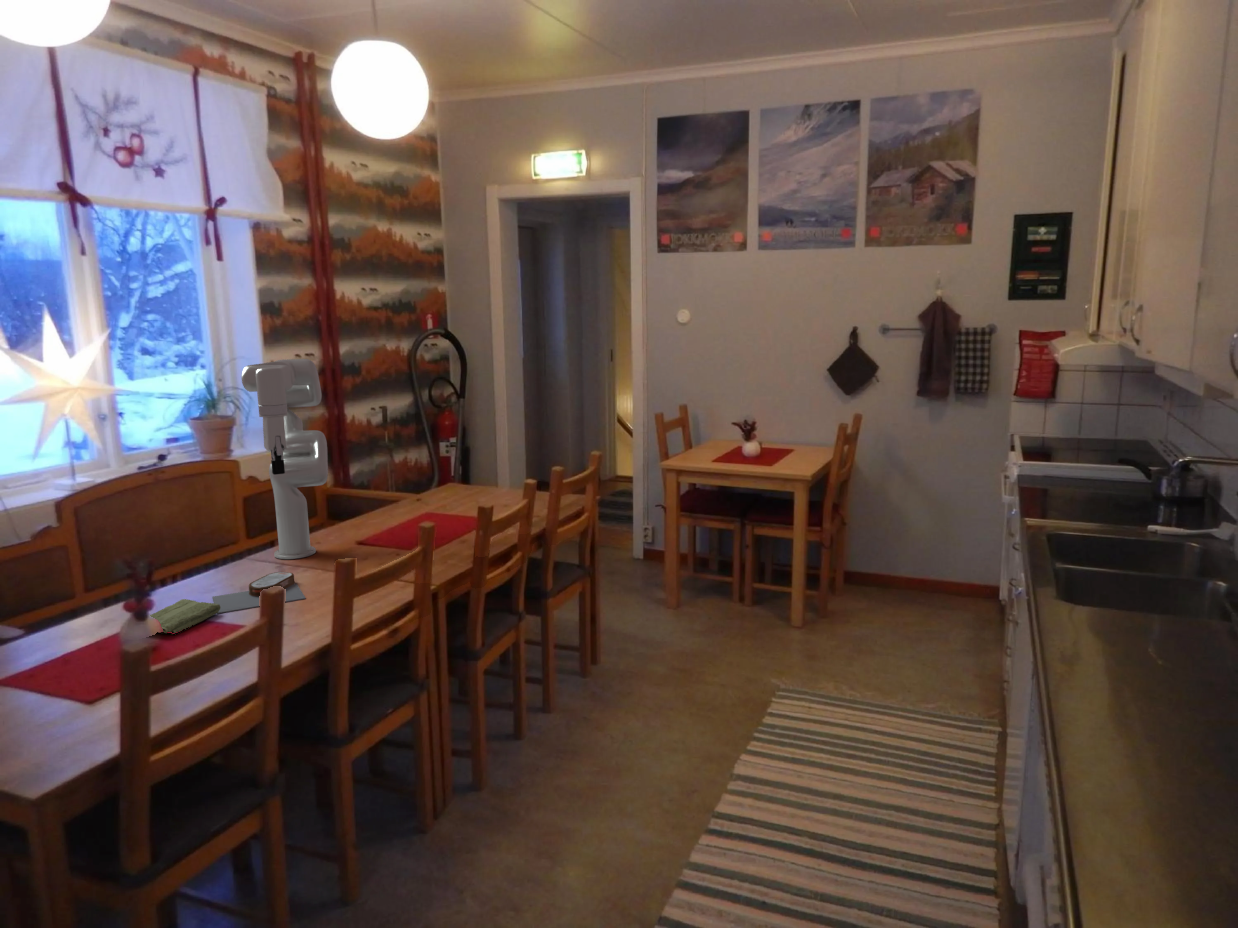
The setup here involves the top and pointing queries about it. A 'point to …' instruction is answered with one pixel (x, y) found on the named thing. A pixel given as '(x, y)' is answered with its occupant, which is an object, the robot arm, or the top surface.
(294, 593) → the mat
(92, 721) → the top surface
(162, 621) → the washcloth
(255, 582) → the tin
